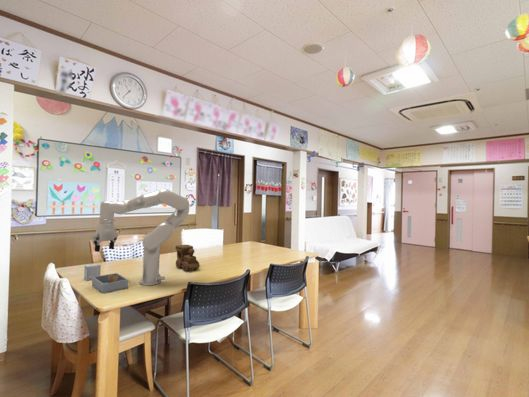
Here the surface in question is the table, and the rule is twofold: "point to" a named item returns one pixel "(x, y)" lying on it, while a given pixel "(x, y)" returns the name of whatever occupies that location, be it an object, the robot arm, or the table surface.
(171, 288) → the table surface
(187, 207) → the robot arm
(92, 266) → the medicine box
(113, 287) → the tote
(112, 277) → the walnut cylinder
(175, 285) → the table surface
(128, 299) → the table surface
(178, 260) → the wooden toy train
